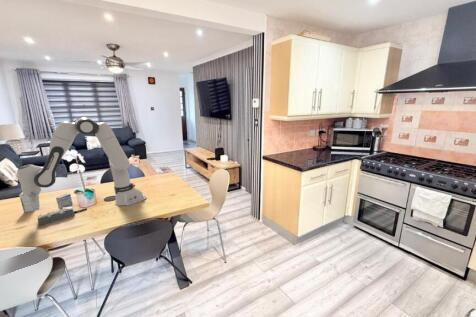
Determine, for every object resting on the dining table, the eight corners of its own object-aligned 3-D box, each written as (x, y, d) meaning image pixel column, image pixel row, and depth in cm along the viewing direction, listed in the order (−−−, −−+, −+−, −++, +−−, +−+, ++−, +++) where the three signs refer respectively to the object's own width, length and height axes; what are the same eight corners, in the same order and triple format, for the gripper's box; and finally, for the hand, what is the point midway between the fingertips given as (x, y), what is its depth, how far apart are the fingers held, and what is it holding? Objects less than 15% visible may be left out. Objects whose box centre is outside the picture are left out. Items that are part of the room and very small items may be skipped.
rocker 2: (60, 210, 155) (59, 208, 154) (61, 212, 152) (59, 210, 152) (51, 214, 152) (50, 212, 151) (52, 216, 150) (50, 214, 149)
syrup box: (27, 209, 167) (22, 191, 163) (37, 207, 169) (32, 190, 165) (23, 212, 162) (18, 194, 158) (34, 211, 164) (29, 192, 160)
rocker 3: (71, 208, 159) (71, 206, 159) (72, 210, 157) (72, 208, 157) (62, 209, 156) (62, 207, 156) (63, 211, 153) (63, 209, 153)
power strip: (85, 207, 168) (84, 202, 167) (87, 211, 163) (86, 206, 162) (38, 220, 151) (37, 215, 150) (39, 225, 145) (37, 219, 144)
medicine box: (62, 208, 167) (59, 198, 165) (58, 208, 169) (55, 197, 166) (72, 204, 174) (70, 194, 172) (69, 203, 176) (66, 193, 173)
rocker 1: (48, 213, 151) (47, 211, 150) (48, 215, 148) (47, 213, 148) (38, 217, 148) (37, 215, 147) (39, 219, 145) (37, 217, 145)
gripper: (38, 193, 136) (44, 213, 140) (37, 184, 151) (43, 202, 154) (24, 196, 132) (31, 217, 136) (25, 186, 147) (31, 205, 150)
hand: (37, 209), depth 145 cm, fingers closed
